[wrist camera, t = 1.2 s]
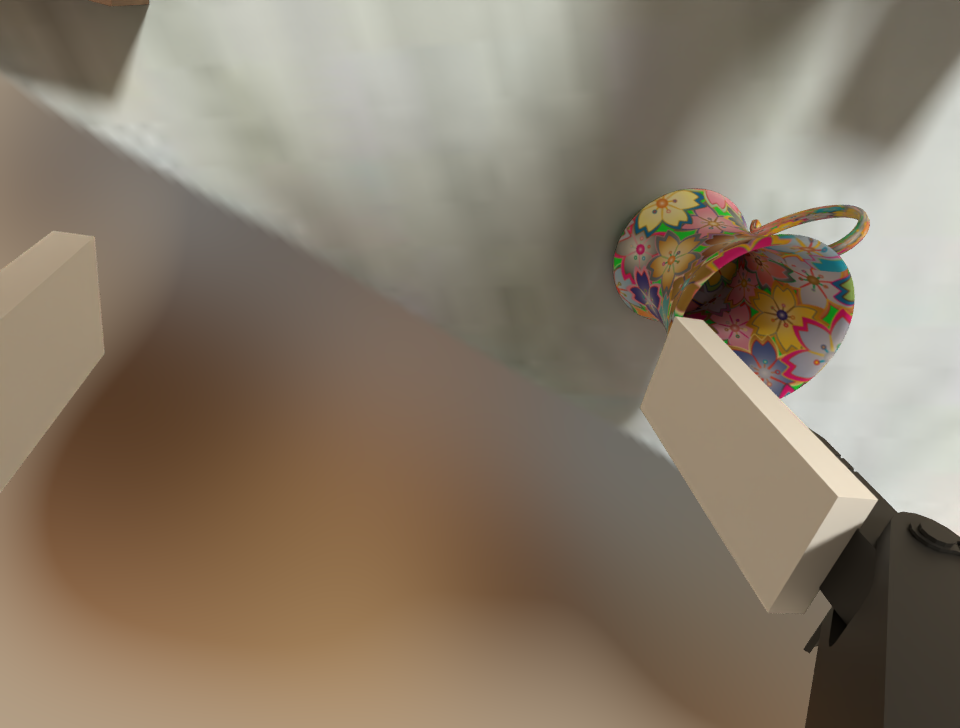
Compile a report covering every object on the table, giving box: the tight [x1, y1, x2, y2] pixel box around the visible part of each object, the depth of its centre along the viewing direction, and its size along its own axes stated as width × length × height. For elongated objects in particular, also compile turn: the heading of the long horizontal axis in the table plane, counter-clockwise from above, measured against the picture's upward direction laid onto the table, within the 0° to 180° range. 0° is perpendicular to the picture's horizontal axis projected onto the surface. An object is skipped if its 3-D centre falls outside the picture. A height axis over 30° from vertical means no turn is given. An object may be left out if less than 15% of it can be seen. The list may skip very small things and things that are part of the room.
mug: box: [613, 189, 870, 399], centre depth 35 cm, size 12×9×11 cm
